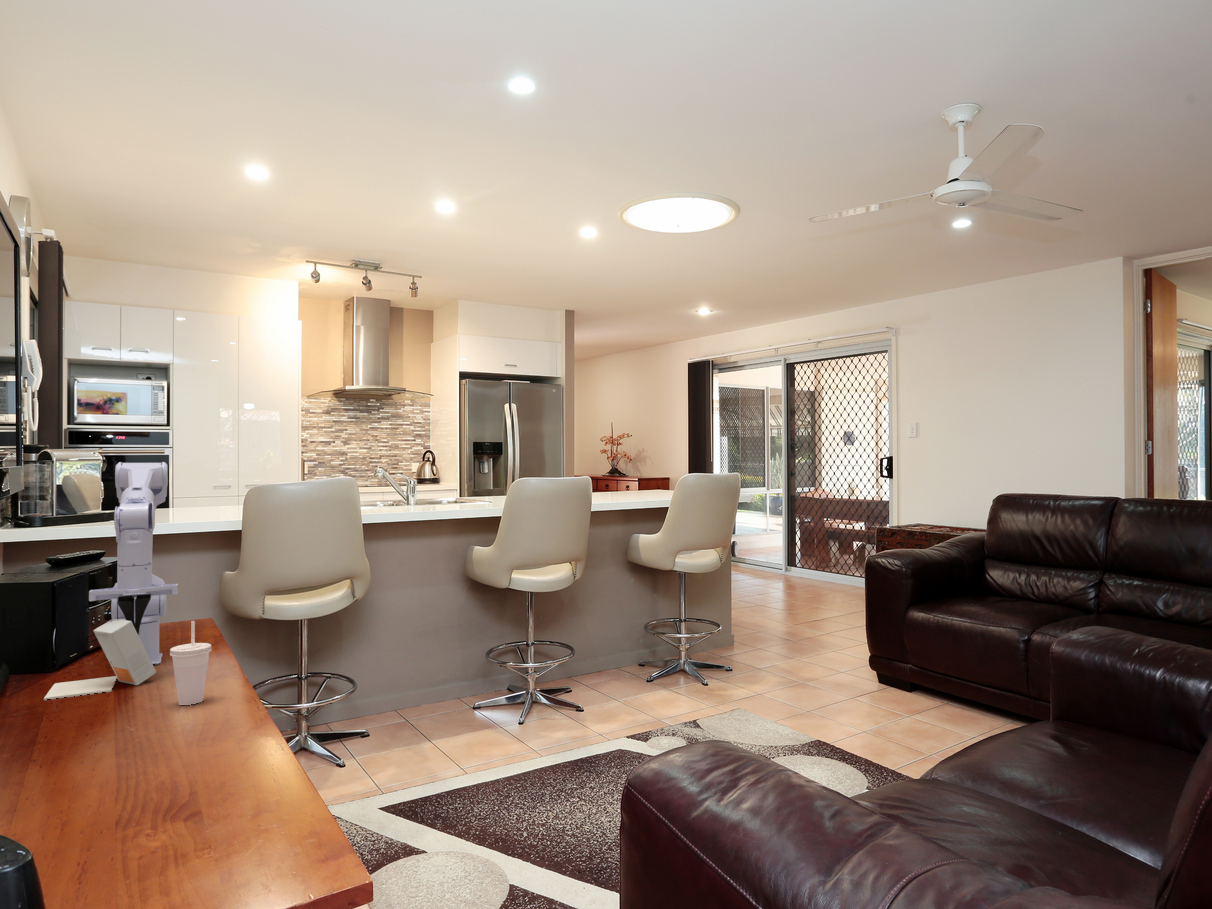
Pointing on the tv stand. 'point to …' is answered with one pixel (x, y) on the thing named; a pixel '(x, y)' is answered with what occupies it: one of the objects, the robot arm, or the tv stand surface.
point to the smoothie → (190, 669)
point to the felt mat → (81, 687)
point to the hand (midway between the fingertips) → (134, 634)
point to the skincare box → (125, 651)
